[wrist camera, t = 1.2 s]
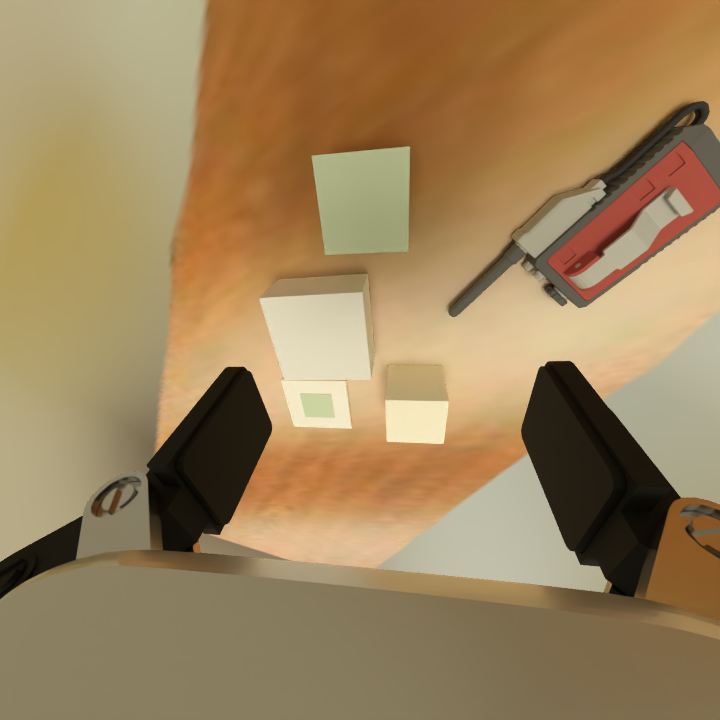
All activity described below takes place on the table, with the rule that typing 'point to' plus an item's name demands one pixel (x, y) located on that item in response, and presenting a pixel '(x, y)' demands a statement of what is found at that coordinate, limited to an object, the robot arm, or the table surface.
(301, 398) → the card
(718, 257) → the table surface
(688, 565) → the robot arm
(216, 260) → the table surface
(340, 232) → the sage cube
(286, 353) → the base block
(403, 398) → the cream cube
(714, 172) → the walkie-talkie
